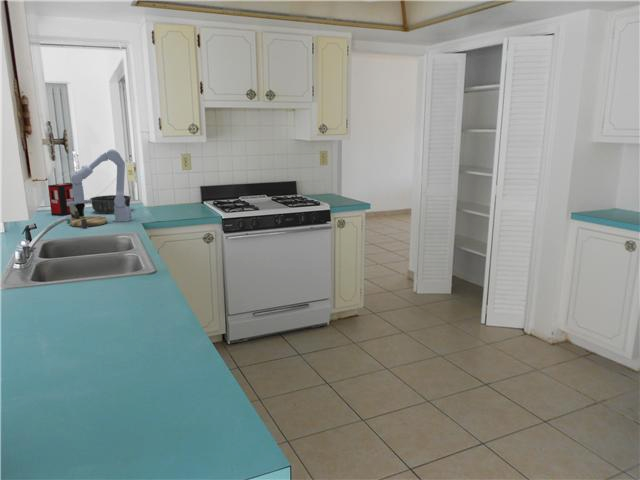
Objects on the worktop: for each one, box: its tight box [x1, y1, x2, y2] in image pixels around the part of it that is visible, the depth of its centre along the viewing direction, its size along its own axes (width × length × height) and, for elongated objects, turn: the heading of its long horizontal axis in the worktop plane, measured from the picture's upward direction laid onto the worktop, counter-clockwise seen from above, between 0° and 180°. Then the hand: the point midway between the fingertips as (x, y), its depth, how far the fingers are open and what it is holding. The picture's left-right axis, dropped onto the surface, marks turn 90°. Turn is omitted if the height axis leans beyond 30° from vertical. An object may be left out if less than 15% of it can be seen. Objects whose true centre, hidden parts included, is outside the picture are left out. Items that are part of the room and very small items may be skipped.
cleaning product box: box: [47, 182, 74, 217], centre depth 331 cm, size 16×9×20 cm, turn 161°
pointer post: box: [81, 219, 88, 230], centre depth 287 cm, size 4×2×5 cm, turn 15°
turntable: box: [69, 211, 108, 228], centre depth 297 cm, size 20×20×7 cm
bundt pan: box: [89, 194, 132, 215], centre depth 341 cm, size 26×26×10 cm
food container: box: [69, 203, 85, 219], centre depth 316 cm, size 12×6×10 cm, turn 59°
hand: (81, 216), depth 301 cm, fingers closed
